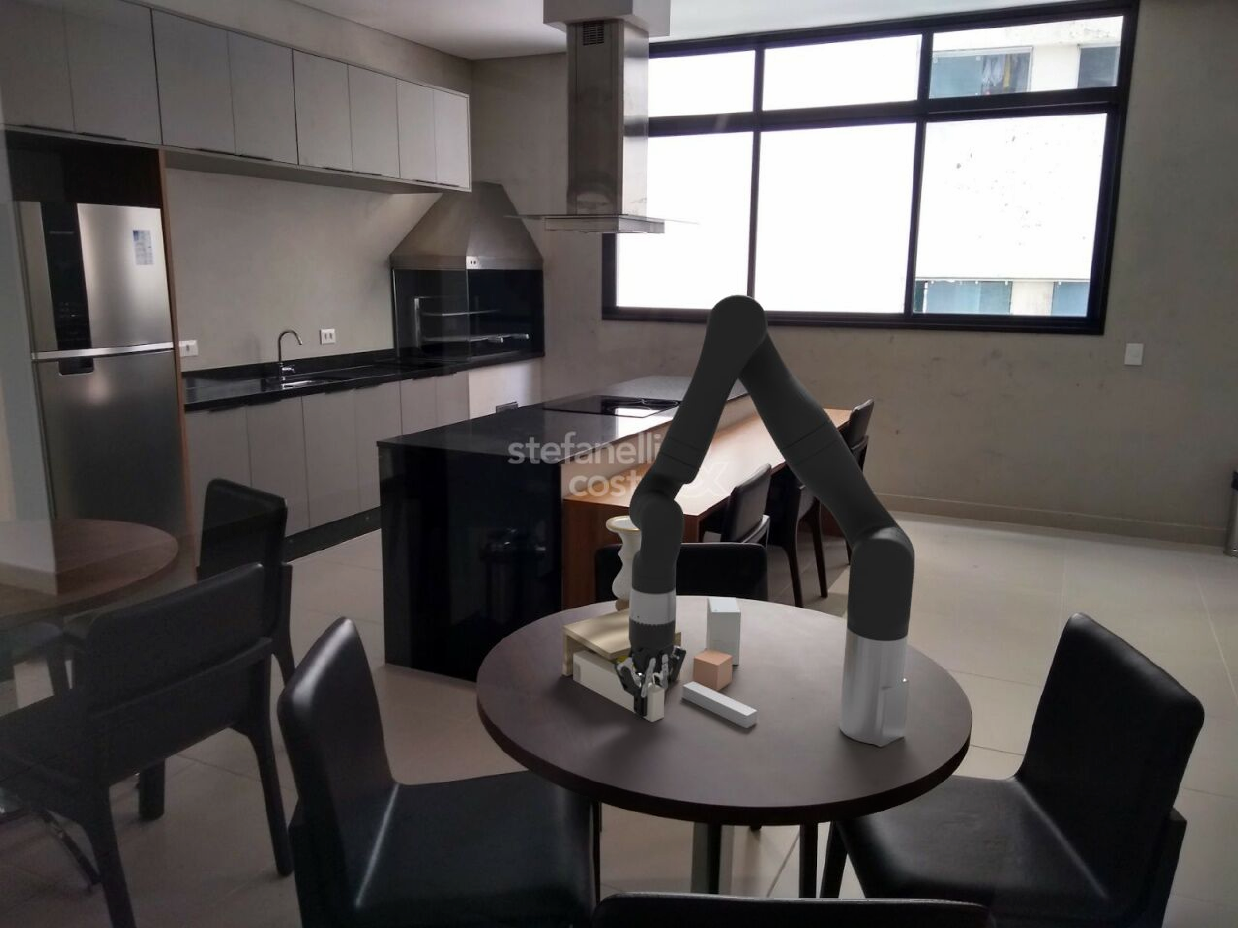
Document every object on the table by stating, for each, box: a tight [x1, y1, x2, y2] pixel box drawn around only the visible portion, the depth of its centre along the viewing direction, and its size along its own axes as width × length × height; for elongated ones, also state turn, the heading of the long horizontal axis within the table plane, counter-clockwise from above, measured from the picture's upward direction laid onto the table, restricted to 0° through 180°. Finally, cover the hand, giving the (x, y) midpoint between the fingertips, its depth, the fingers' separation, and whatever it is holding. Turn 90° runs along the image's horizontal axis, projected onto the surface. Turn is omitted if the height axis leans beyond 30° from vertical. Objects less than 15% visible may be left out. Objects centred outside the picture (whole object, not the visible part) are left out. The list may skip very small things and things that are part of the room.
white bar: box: [572, 650, 665, 723], centre depth 152 cm, size 20×9×5 cm, turn 43°
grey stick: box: [682, 680, 758, 729], centre depth 147 cm, size 14×3×2 cm, turn 43°
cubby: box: [562, 608, 682, 682], centre depth 157 cm, size 14×16×9 cm
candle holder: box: [605, 515, 641, 612], centre depth 173 cm, size 11×11×24 cm
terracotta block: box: [692, 648, 733, 692], centre depth 156 cm, size 5×5×5 cm
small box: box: [705, 596, 742, 666], centre depth 167 cm, size 8×6×10 cm
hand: (649, 711), depth 145 cm, fingers closed on white bar, 3 cm apart
